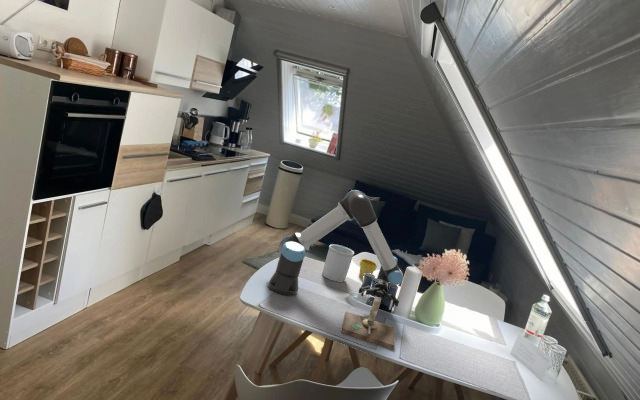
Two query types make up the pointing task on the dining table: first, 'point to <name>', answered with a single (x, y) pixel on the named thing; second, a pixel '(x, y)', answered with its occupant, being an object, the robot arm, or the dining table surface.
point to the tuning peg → (372, 315)
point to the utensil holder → (337, 263)
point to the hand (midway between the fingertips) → (376, 302)
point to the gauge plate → (355, 328)
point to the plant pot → (367, 267)
